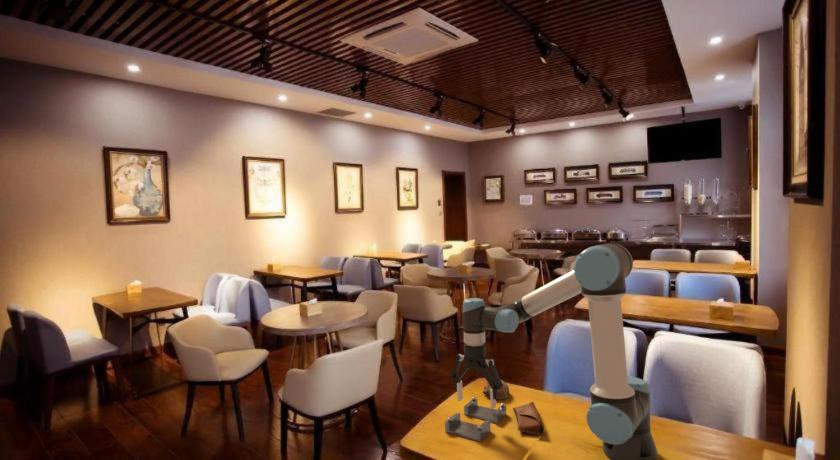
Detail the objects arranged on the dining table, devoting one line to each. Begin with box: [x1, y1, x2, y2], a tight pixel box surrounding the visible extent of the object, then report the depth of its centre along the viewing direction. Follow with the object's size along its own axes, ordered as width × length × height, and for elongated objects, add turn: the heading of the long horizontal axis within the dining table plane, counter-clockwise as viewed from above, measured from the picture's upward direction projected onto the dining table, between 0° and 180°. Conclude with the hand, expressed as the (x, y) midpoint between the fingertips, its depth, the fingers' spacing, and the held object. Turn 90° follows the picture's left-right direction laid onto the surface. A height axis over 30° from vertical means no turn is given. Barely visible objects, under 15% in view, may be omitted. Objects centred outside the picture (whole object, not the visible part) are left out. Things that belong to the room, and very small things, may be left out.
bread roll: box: [482, 379, 510, 401], centre depth 176 cm, size 10×10×8 cm
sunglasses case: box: [512, 401, 545, 436], centre depth 154 cm, size 18×7×7 cm
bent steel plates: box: [444, 396, 507, 443], centre depth 155 cm, size 13×22×4 cm, turn 147°
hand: (476, 403), depth 155 cm, fingers open, 12 cm apart
